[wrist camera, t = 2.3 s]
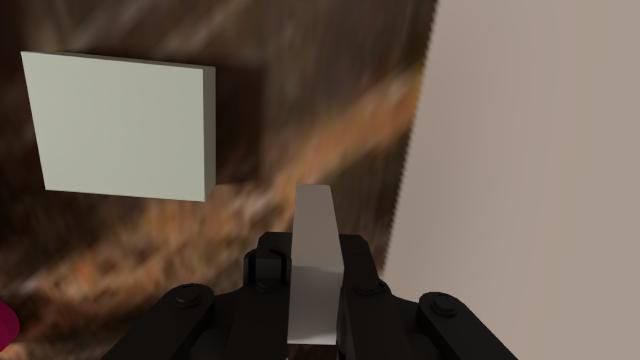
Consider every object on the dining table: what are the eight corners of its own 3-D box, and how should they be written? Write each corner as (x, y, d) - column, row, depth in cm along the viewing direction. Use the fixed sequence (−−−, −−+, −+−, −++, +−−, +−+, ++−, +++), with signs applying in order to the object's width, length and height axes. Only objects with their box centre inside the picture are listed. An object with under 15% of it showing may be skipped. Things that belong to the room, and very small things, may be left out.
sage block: (216, 66, 28) (202, 69, 25) (216, 183, 32) (204, 201, 28) (59, 51, 28) (20, 51, 24) (77, 172, 31) (45, 189, 27)
